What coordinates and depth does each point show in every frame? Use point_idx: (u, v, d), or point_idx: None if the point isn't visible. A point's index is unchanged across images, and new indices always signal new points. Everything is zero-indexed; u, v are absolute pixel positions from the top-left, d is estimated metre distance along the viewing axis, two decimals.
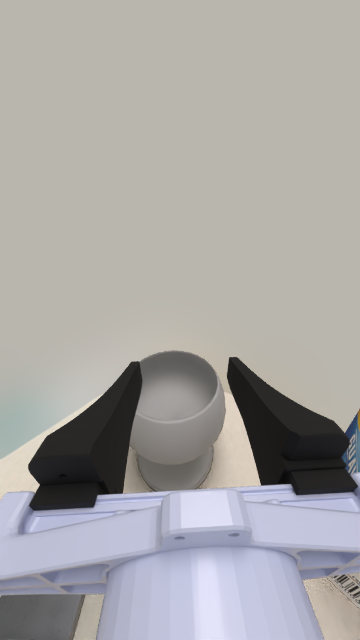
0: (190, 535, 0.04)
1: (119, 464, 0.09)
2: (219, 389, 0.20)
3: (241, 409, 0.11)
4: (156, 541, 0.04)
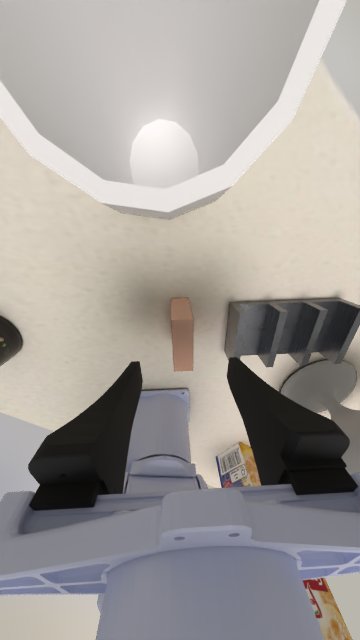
0: (190, 535, 0.04)
1: (119, 464, 0.09)
2: None
3: (241, 409, 0.11)
4: (156, 541, 0.04)
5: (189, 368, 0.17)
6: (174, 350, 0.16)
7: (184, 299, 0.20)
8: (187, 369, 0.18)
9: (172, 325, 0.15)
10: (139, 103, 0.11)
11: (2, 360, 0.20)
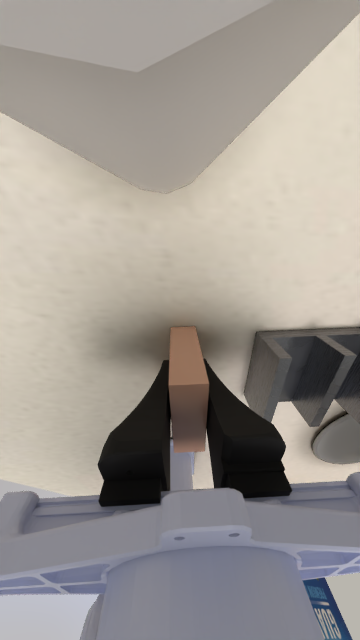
0: (190, 535, 0.04)
1: (168, 461, 0.09)
2: None
3: None
4: (156, 541, 0.04)
5: (199, 448, 0.11)
6: (174, 427, 0.10)
7: (190, 330, 0.13)
8: (195, 449, 0.11)
9: (171, 393, 0.09)
10: None
11: None
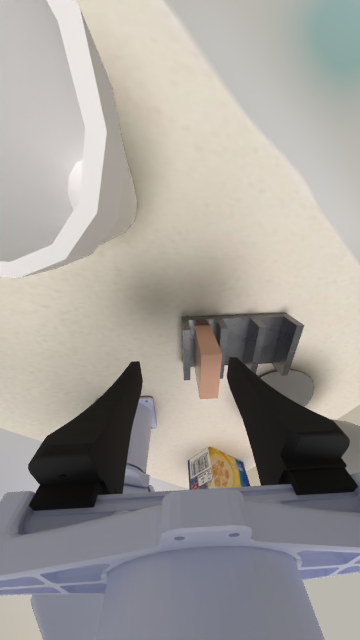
0: (190, 535, 0.04)
1: (119, 464, 0.09)
2: None
3: (241, 409, 0.11)
4: (156, 541, 0.04)
5: (214, 396, 0.18)
6: (201, 381, 0.17)
7: (207, 327, 0.21)
8: (212, 396, 0.18)
9: (202, 359, 0.16)
10: (62, 147, 0.12)
11: None
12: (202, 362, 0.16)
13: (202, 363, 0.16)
